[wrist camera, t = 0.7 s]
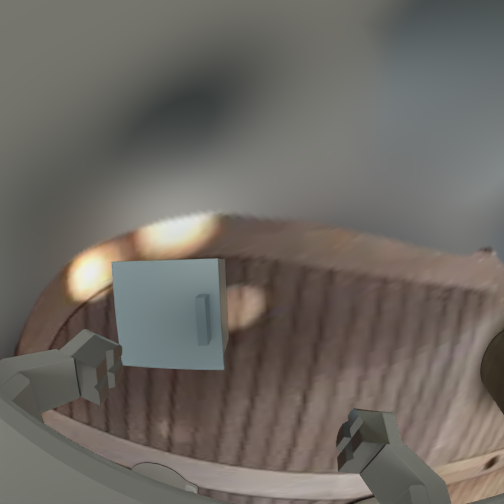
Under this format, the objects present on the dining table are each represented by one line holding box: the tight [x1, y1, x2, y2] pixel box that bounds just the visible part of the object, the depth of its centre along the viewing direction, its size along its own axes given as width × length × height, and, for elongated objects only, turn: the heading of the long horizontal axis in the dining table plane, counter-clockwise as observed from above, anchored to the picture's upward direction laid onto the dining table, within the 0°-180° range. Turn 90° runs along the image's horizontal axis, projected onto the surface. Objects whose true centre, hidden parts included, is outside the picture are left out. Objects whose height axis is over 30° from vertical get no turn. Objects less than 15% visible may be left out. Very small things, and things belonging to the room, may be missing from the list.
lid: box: [112, 258, 225, 370], centre depth 39 cm, size 15×15×5 cm
